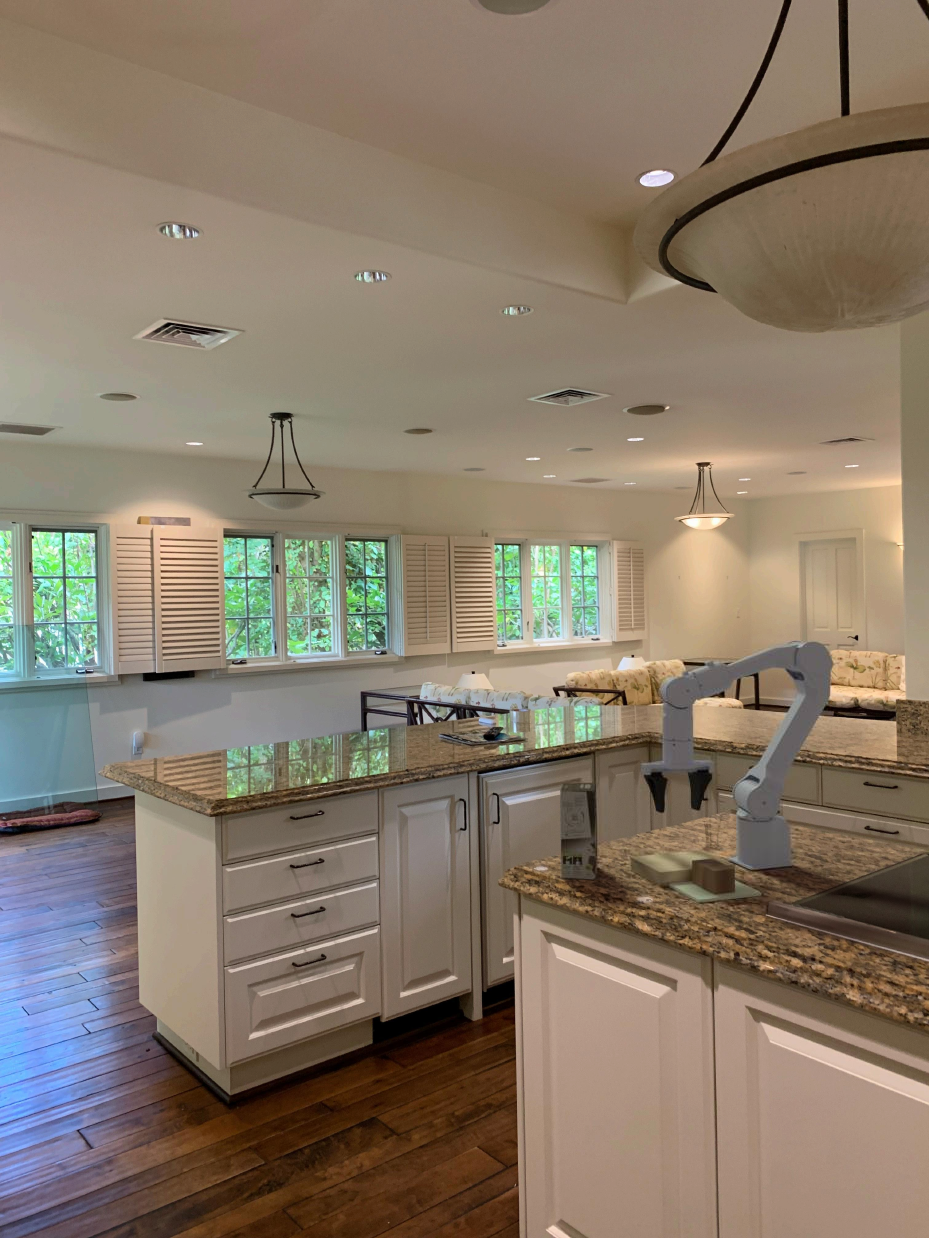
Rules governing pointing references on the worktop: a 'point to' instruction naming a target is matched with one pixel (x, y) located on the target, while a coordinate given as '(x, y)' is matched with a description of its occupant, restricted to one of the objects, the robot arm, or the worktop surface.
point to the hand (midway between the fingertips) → (677, 810)
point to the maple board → (670, 866)
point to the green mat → (705, 896)
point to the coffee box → (578, 831)
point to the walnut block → (713, 876)
